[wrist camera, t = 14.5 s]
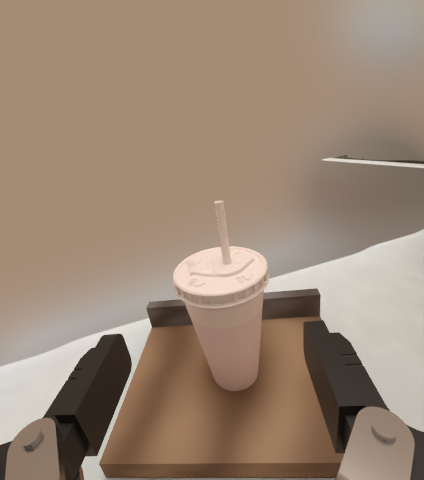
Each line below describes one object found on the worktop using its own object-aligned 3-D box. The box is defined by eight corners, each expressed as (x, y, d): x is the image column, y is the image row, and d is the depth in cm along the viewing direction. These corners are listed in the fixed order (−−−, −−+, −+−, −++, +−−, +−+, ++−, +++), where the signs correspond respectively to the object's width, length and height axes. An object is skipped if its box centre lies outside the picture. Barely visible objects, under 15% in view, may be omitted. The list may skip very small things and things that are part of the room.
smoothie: (289, 398, 18) (281, 207, 13) (199, 419, 18) (151, 231, 12) (261, 333, 24) (247, 184, 19) (193, 348, 24) (159, 200, 18)
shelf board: (106, 477, 17) (85, 439, 15) (158, 329, 29) (150, 300, 27) (386, 477, 15) (395, 434, 13) (315, 319, 27) (316, 286, 25)
